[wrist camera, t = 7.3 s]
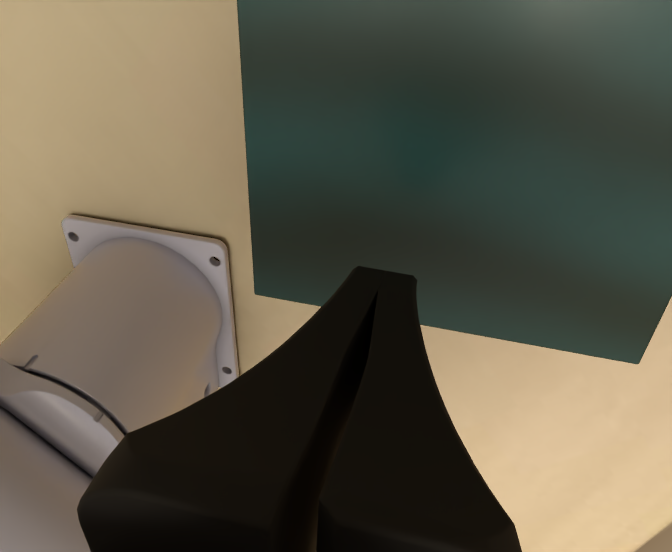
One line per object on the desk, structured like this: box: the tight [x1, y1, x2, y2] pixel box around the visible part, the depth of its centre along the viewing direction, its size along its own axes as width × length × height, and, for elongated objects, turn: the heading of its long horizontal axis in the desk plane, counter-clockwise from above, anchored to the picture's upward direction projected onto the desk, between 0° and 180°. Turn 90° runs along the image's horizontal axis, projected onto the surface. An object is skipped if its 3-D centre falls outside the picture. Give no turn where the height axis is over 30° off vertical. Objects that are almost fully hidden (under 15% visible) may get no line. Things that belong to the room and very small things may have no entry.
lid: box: [237, 0, 672, 364], centre depth 14 cm, size 14×12×1 cm
